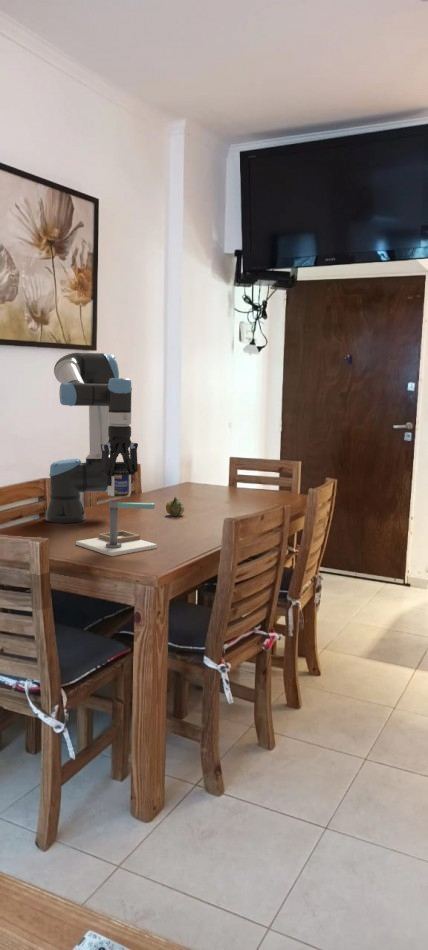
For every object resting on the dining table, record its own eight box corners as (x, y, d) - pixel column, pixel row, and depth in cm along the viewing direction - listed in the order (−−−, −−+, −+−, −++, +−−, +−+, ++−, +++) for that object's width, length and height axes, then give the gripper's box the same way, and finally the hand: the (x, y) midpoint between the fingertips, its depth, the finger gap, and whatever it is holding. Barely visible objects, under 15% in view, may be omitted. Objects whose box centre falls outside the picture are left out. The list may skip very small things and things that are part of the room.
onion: (188, 515, 290) (188, 496, 289) (177, 518, 283) (177, 498, 282) (173, 513, 294) (173, 494, 293) (162, 515, 287) (162, 496, 286)
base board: (76, 544, 233) (76, 503, 231) (120, 537, 246) (120, 498, 244) (111, 556, 219) (111, 512, 217) (156, 547, 231) (157, 506, 229)
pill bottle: (113, 497, 232) (113, 463, 230) (107, 494, 237) (107, 461, 236) (131, 496, 235) (131, 463, 233) (124, 493, 240) (124, 461, 238)
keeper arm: (107, 508, 223) (107, 502, 223) (109, 506, 227) (109, 500, 226) (153, 509, 223) (153, 503, 222) (155, 507, 226) (155, 501, 226)
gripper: (102, 426, 223) (102, 498, 226) (149, 425, 237) (148, 493, 240) (88, 425, 229) (88, 495, 232) (136, 424, 242) (135, 490, 245)
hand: (119, 494), depth 236 cm, fingers closed on pill bottle, 6 cm apart
